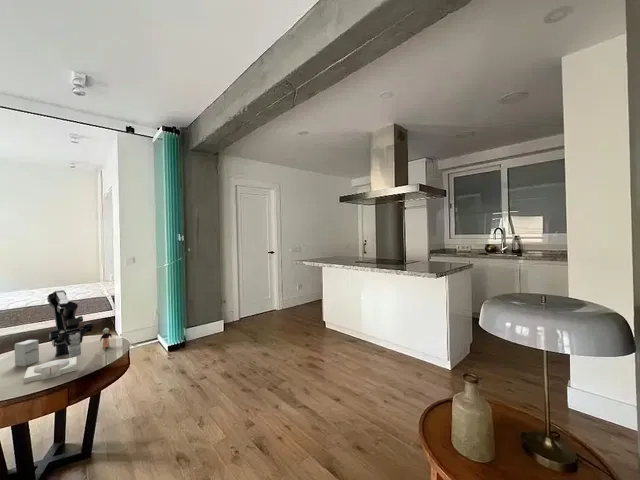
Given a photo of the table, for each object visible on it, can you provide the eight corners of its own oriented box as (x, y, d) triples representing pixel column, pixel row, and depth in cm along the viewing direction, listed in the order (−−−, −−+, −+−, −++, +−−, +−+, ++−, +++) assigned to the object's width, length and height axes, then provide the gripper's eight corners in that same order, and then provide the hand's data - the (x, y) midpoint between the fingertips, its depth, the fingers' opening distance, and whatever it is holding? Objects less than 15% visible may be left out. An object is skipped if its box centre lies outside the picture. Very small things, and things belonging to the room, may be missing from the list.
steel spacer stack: (70, 354, 161) (70, 333, 161) (82, 352, 163) (81, 331, 163) (67, 357, 156) (67, 336, 156) (79, 355, 159) (78, 334, 158)
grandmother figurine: (103, 349, 184) (103, 330, 184) (98, 349, 185) (98, 329, 185) (114, 345, 192) (113, 326, 192) (109, 344, 192) (108, 326, 192)
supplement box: (24, 366, 162) (23, 344, 162) (14, 365, 163) (13, 343, 163) (39, 361, 169) (39, 339, 169) (30, 360, 170) (29, 339, 170)
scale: (28, 371, 155) (27, 361, 155) (76, 360, 168) (76, 350, 168) (23, 384, 141) (22, 372, 141) (76, 371, 154) (75, 360, 154)
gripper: (49, 316, 154) (54, 341, 148) (92, 309, 169) (98, 331, 163) (46, 328, 159) (51, 352, 153) (88, 319, 174) (94, 341, 168)
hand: (75, 343), depth 159 cm, fingers closed on steel spacer stack, 5 cm apart
